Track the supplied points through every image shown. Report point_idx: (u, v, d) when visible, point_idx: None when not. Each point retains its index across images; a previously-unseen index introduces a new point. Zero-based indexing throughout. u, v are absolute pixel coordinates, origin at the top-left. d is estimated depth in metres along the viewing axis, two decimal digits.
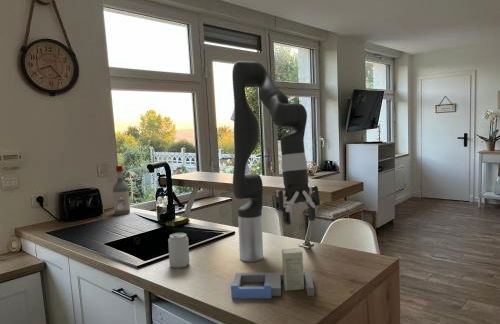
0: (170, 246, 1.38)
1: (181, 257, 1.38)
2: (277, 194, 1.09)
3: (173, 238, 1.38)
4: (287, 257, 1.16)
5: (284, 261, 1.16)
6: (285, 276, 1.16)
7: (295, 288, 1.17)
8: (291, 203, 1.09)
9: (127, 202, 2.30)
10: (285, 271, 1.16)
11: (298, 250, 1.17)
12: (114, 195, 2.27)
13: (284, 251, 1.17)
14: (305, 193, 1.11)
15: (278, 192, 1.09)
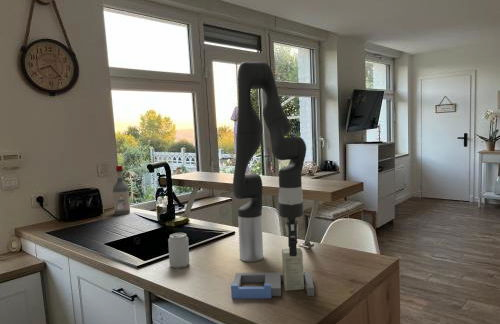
0: (170, 246, 1.38)
1: (181, 257, 1.38)
2: (292, 228, 1.10)
3: (173, 238, 1.38)
4: (287, 257, 1.16)
5: (284, 261, 1.16)
6: (285, 276, 1.16)
7: (295, 288, 1.17)
8: (297, 235, 1.14)
9: (127, 202, 2.30)
10: (285, 271, 1.16)
11: (298, 250, 1.17)
12: (114, 195, 2.27)
13: (284, 251, 1.17)
14: (297, 223, 1.18)
15: (294, 226, 1.10)
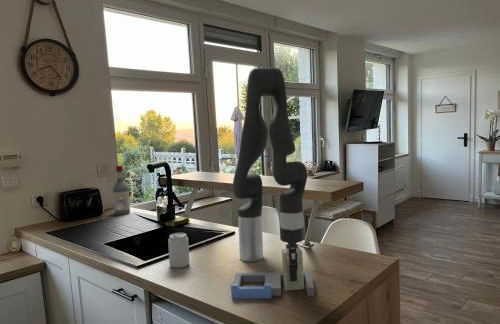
0: (170, 246, 1.38)
1: (181, 257, 1.38)
2: (293, 257, 1.11)
3: (173, 238, 1.38)
4: (286, 257, 1.16)
5: (284, 261, 1.16)
6: (285, 276, 1.16)
7: (295, 288, 1.17)
8: (298, 260, 1.16)
9: (127, 202, 2.30)
10: (285, 271, 1.16)
11: None
12: (114, 195, 2.27)
13: (284, 251, 1.17)
14: (298, 247, 1.19)
15: (295, 256, 1.11)
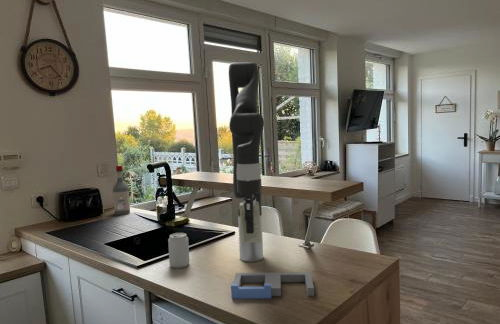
0: (170, 246, 1.38)
1: (181, 257, 1.38)
2: (248, 207, 1.11)
3: (173, 238, 1.38)
4: (243, 209, 1.15)
5: (241, 213, 1.15)
6: (242, 228, 1.16)
7: (252, 240, 1.16)
8: (254, 212, 1.15)
9: (127, 202, 2.30)
10: (242, 223, 1.16)
11: None
12: (114, 195, 2.27)
13: (241, 204, 1.17)
14: None
15: (250, 206, 1.10)
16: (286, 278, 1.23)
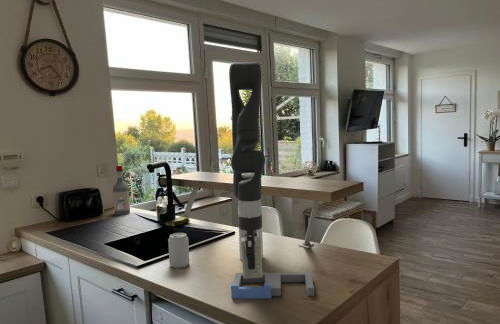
0: (170, 246, 1.38)
1: (181, 257, 1.38)
2: (250, 245, 1.12)
3: (173, 238, 1.38)
4: None
5: (242, 249, 1.16)
6: (243, 264, 1.17)
7: (253, 276, 1.17)
8: None
9: (127, 202, 2.30)
10: (243, 259, 1.17)
11: (257, 238, 1.18)
12: (114, 195, 2.27)
13: (243, 239, 1.18)
14: (257, 235, 1.20)
15: (251, 243, 1.12)
16: (286, 278, 1.23)
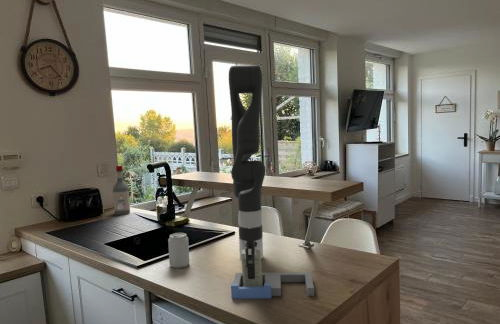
0: (170, 246, 1.38)
1: (181, 257, 1.38)
2: (250, 252, 1.12)
3: (173, 238, 1.38)
4: None
5: (242, 261, 1.17)
6: (243, 276, 1.17)
7: None
8: None
9: (127, 202, 2.30)
10: (243, 271, 1.17)
11: (257, 250, 1.18)
12: (114, 195, 2.27)
13: (243, 251, 1.18)
14: (257, 245, 1.20)
15: (252, 250, 1.12)
16: (286, 278, 1.23)
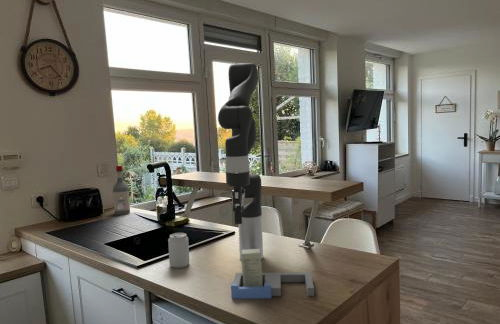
0: (170, 246, 1.38)
1: (181, 257, 1.38)
2: (236, 196, 1.11)
3: (173, 238, 1.38)
4: (245, 257, 1.17)
5: (242, 261, 1.17)
6: (243, 276, 1.17)
7: None
8: (243, 203, 1.15)
9: (127, 202, 2.30)
10: (243, 271, 1.17)
11: (257, 250, 1.18)
12: (114, 195, 2.27)
13: (243, 251, 1.18)
14: (244, 192, 1.20)
15: (238, 194, 1.11)
16: (286, 278, 1.23)
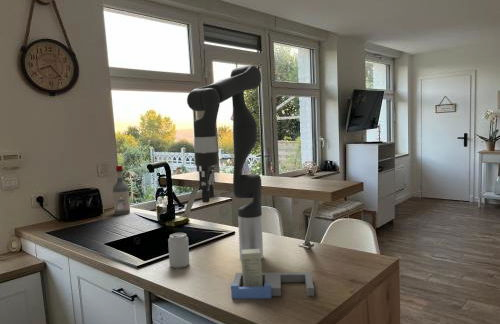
0: (170, 246, 1.38)
1: (181, 257, 1.38)
2: (203, 174, 1.15)
3: (173, 238, 1.38)
4: (245, 257, 1.17)
5: (242, 261, 1.17)
6: (243, 276, 1.17)
7: None
8: (210, 182, 1.19)
9: (127, 202, 2.30)
10: (243, 271, 1.17)
11: (257, 250, 1.18)
12: (114, 195, 2.27)
13: (243, 251, 1.18)
14: (213, 173, 1.24)
15: (205, 172, 1.15)
16: (286, 278, 1.23)
